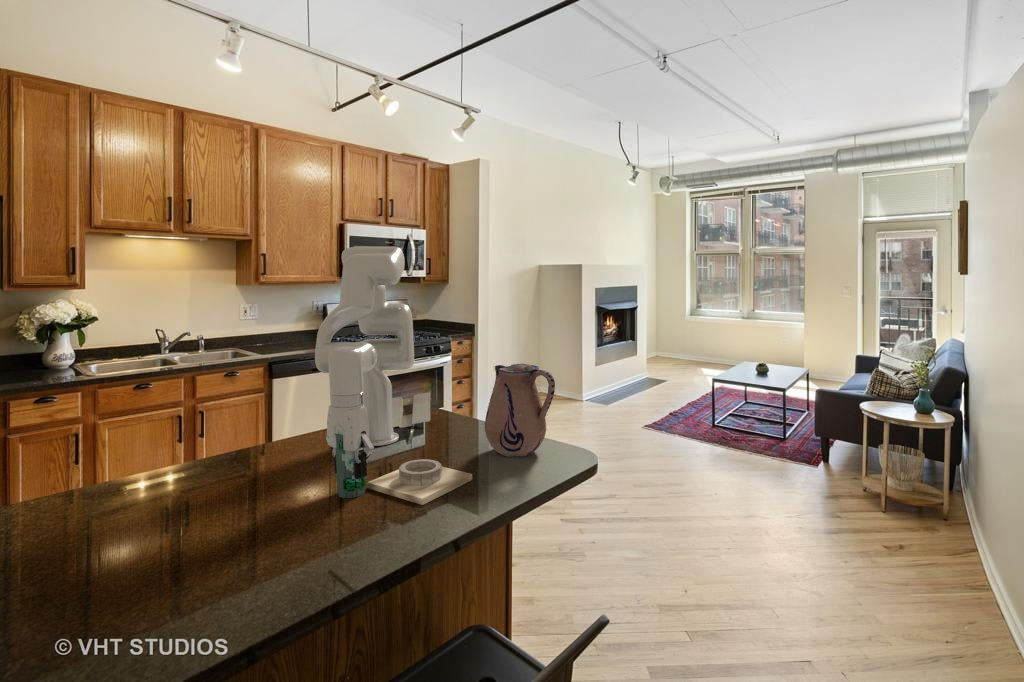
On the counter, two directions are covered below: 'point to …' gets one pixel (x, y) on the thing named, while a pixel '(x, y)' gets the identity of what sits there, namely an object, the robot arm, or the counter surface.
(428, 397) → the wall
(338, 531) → the counter surface
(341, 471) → the can
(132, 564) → the counter surface
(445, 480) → the socket board
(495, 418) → the ceramic pitcher
